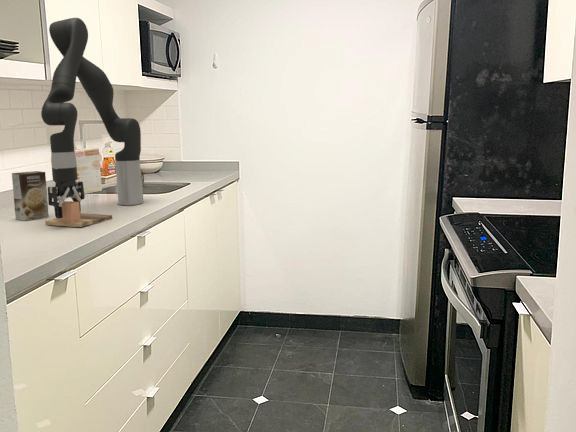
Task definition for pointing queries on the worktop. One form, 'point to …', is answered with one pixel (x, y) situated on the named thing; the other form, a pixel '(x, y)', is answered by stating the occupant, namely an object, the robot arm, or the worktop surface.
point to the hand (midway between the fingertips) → (68, 215)
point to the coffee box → (30, 195)
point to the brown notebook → (95, 217)
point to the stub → (70, 216)
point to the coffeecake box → (88, 169)
